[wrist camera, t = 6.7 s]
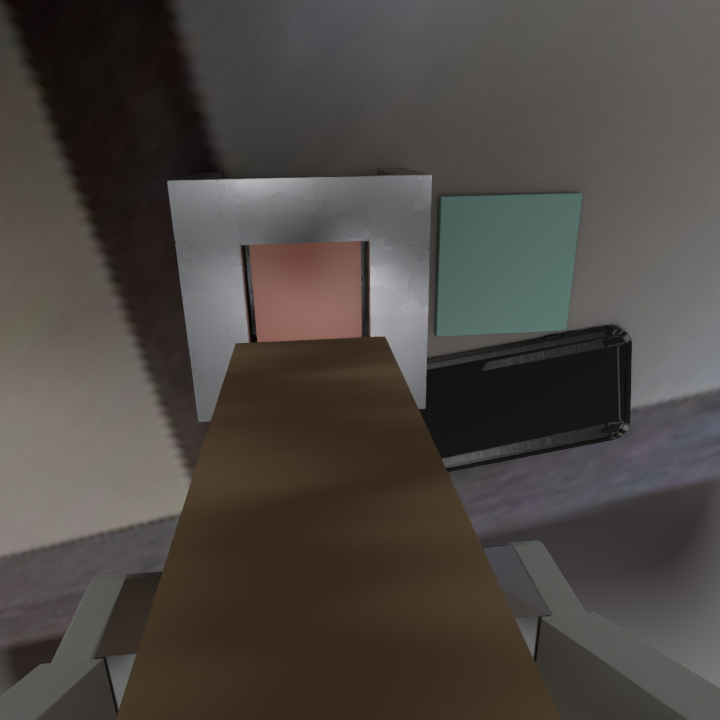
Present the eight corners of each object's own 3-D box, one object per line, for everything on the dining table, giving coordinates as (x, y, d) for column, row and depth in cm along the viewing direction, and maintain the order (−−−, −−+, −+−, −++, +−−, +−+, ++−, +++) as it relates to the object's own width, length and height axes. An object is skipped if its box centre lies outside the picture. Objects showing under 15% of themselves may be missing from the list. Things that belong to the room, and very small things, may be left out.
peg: (385, 336, 15) (860, 1370, 2) (385, 464, 17) (686, 1559, 4) (235, 343, 15) (-168, 1605, 2) (248, 473, 16) (60, 1714, 3)
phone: (629, 436, 37) (406, 480, 37) (620, 428, 39) (403, 471, 38) (632, 324, 35) (389, 369, 34) (622, 318, 36) (387, 362, 35)
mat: (578, 192, 32) (582, 193, 32) (562, 327, 35) (566, 330, 35) (439, 196, 31) (441, 196, 31) (434, 334, 34) (436, 336, 34)
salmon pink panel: (356, 231, 29) (360, 238, 27) (357, 329, 31) (361, 342, 29) (252, 235, 28) (248, 242, 26) (260, 334, 30) (257, 347, 28)
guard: (403, 168, 31) (432, 174, 24) (401, 358, 35) (425, 408, 28) (196, 172, 30) (167, 180, 23) (218, 368, 34) (198, 421, 27)
